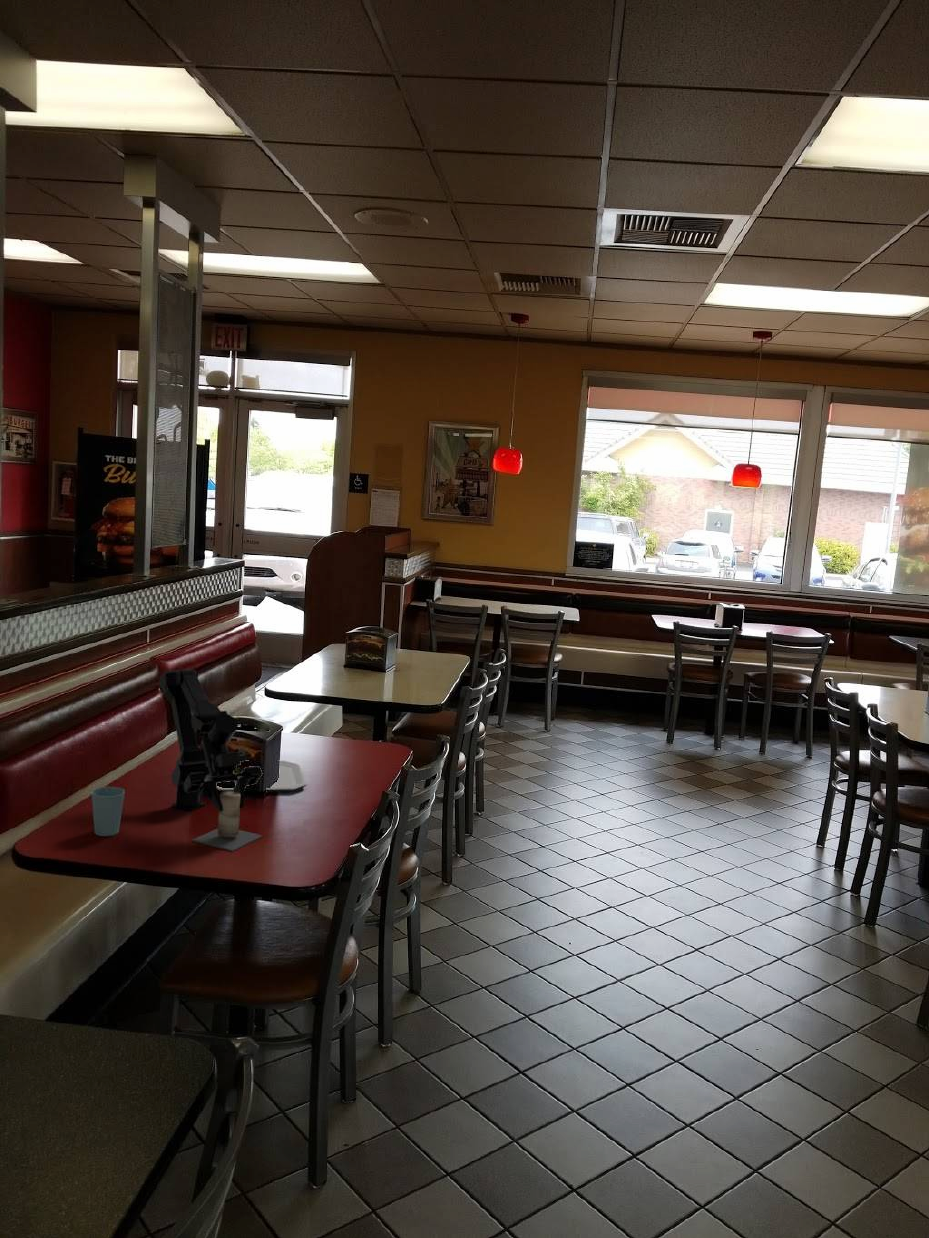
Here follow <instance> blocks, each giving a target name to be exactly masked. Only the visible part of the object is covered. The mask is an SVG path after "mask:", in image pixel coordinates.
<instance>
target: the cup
mask: <svg viewBox="0 0 929 1238" xmlns="http://www.w3.org/2000/svg"><path fill="white" fill-rule="evenodd" d="M90 792H91V802H92V814H93V815H92V816H93V825H94V826H93V827H94V828H93V829H94V834H95V835H97V836H100V837H111V836H115V835H117V834H119V831H120V825H121V819H122V812H123V805H124V799H125V794H126V790H125V789H124V788H121V787H116V786H105V787H99V788H98V787H97V788H95V789H92V790H91V791H90Z"/></svg>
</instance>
